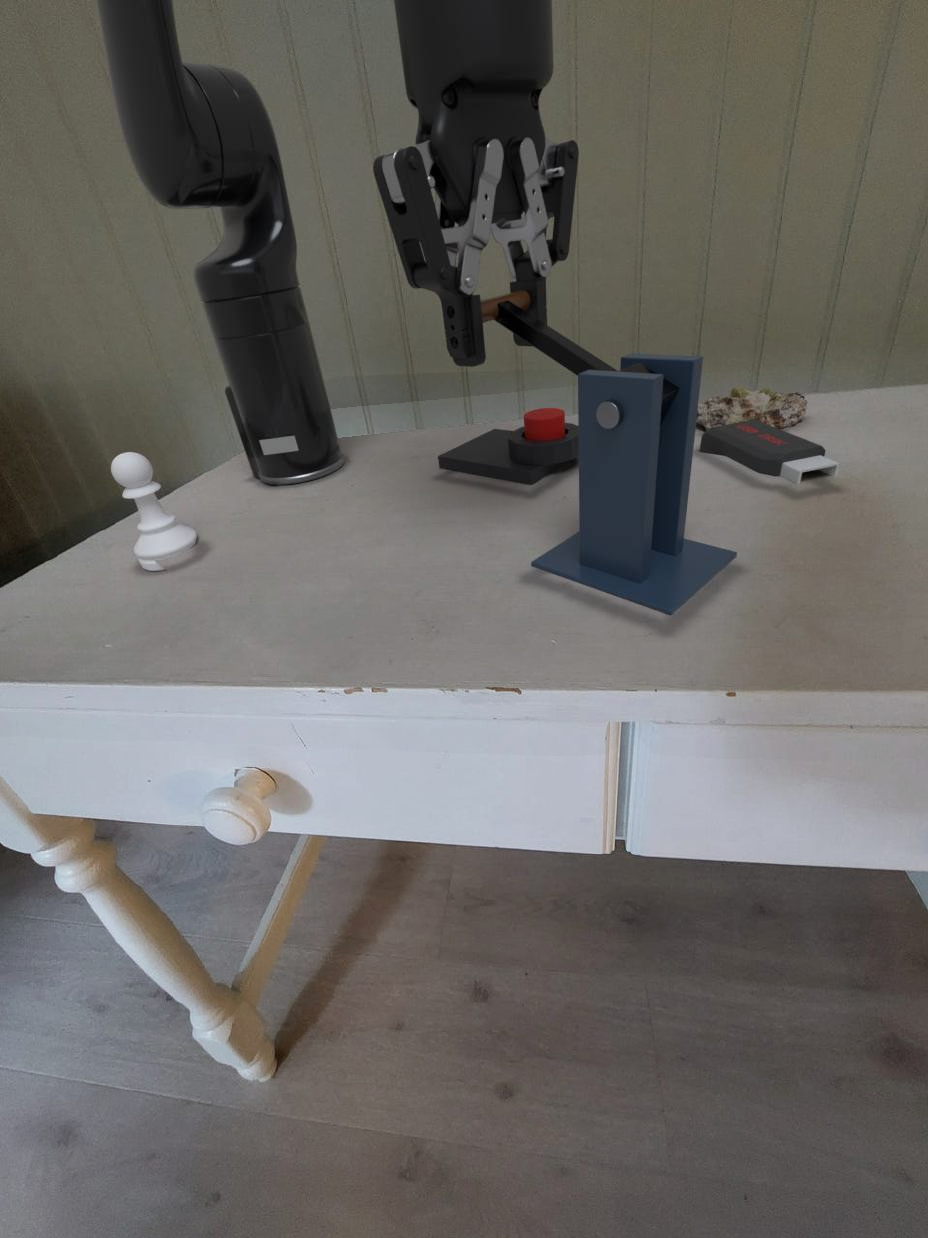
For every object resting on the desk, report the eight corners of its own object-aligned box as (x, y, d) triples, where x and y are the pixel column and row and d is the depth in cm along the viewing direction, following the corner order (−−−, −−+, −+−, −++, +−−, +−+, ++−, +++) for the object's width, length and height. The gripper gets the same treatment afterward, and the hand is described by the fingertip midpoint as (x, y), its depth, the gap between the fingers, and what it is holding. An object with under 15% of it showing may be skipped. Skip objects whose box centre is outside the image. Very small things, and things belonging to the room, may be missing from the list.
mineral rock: (709, 419, 53) (691, 376, 58) (699, 458, 57) (683, 414, 62) (830, 410, 52) (801, 368, 57) (813, 451, 56) (787, 407, 61)
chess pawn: (157, 577, 45) (103, 469, 40) (131, 563, 48) (78, 460, 43) (213, 551, 48) (170, 446, 43) (186, 539, 51) (142, 439, 46)
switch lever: (457, 330, 34) (465, 288, 33) (512, 315, 37) (522, 276, 35) (624, 446, 30) (643, 406, 28) (672, 420, 33) (693, 381, 31)
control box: (440, 477, 56) (434, 437, 54) (496, 448, 61) (492, 410, 59) (549, 499, 49) (547, 453, 46) (601, 464, 54) (602, 421, 52)
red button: (517, 440, 51) (515, 417, 50) (539, 428, 53) (538, 406, 52) (550, 445, 49) (549, 421, 48) (573, 432, 51) (572, 409, 50)
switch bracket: (531, 578, 38) (518, 377, 31) (600, 532, 42) (603, 346, 35) (669, 630, 32) (693, 391, 24) (734, 569, 36) (771, 351, 29)
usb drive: (750, 442, 54) (755, 413, 52) (845, 486, 44) (854, 450, 42) (698, 452, 53) (702, 423, 51) (782, 498, 43) (790, 463, 42)
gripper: (511, 7, 33) (528, 331, 42) (296, -27, 25) (376, 378, 35) (625, -47, 28) (615, 332, 37) (402, -109, 20) (461, 387, 30)
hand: (500, 353), depth 36 cm, fingers closed on switch lever, 5 cm apart
